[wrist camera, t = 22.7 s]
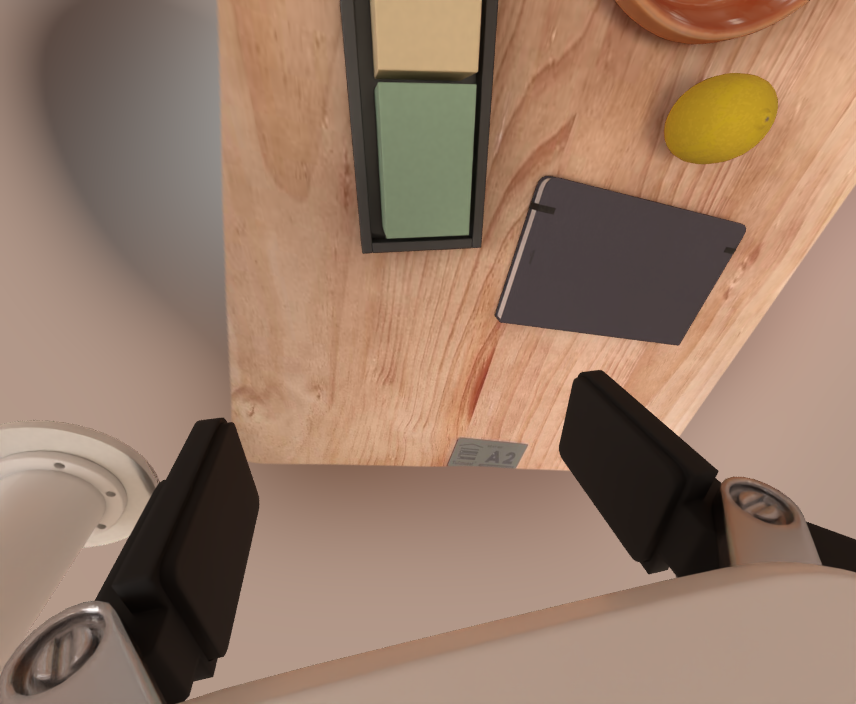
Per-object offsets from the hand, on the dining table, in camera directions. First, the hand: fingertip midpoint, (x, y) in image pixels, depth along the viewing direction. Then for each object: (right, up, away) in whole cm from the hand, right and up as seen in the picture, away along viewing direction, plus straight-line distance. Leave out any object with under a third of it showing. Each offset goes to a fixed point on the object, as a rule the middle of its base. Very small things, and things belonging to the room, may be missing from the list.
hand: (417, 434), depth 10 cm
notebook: (+18, +10, +26) cm, 33 cm away
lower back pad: (0, +16, +18) cm, 24 cm away
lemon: (+20, +21, +20) cm, 35 cm away
